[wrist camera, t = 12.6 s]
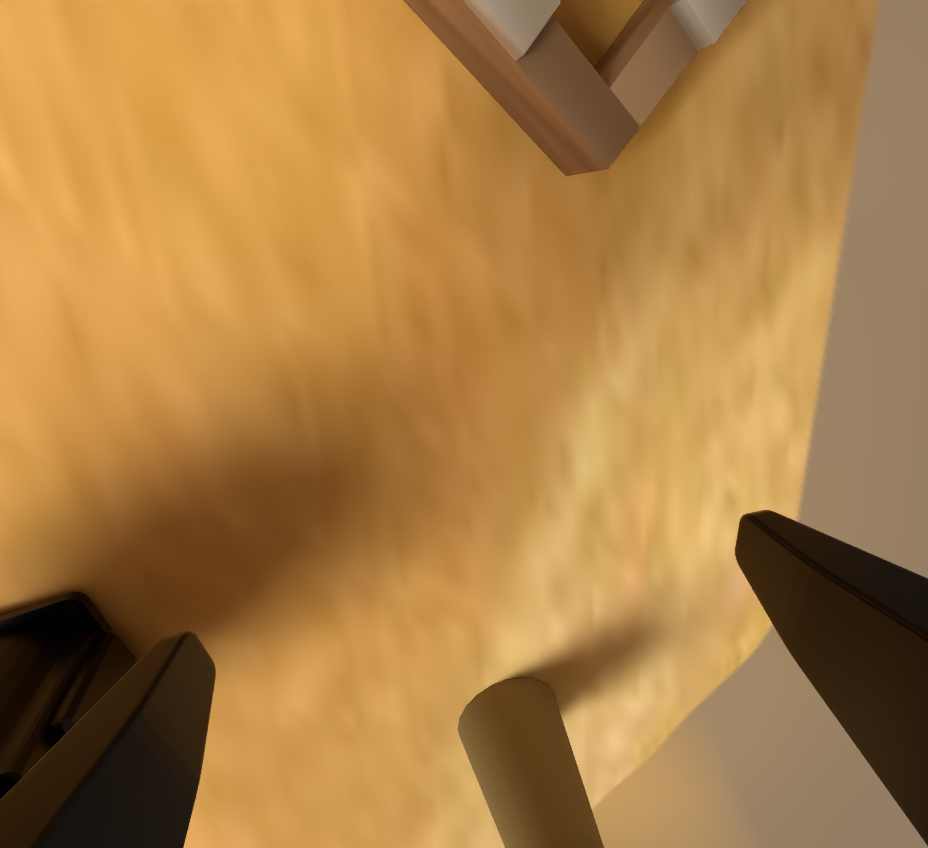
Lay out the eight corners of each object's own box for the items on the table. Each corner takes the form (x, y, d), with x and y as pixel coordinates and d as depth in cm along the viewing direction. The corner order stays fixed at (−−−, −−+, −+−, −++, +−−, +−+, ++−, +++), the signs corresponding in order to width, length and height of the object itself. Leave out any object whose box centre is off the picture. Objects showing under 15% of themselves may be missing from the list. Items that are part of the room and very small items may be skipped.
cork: (517, 661, 27) (626, 911, 17) (572, 704, 30) (693, 941, 20) (436, 728, 28) (498, 1010, 18) (498, 764, 30) (580, 1026, 20)
